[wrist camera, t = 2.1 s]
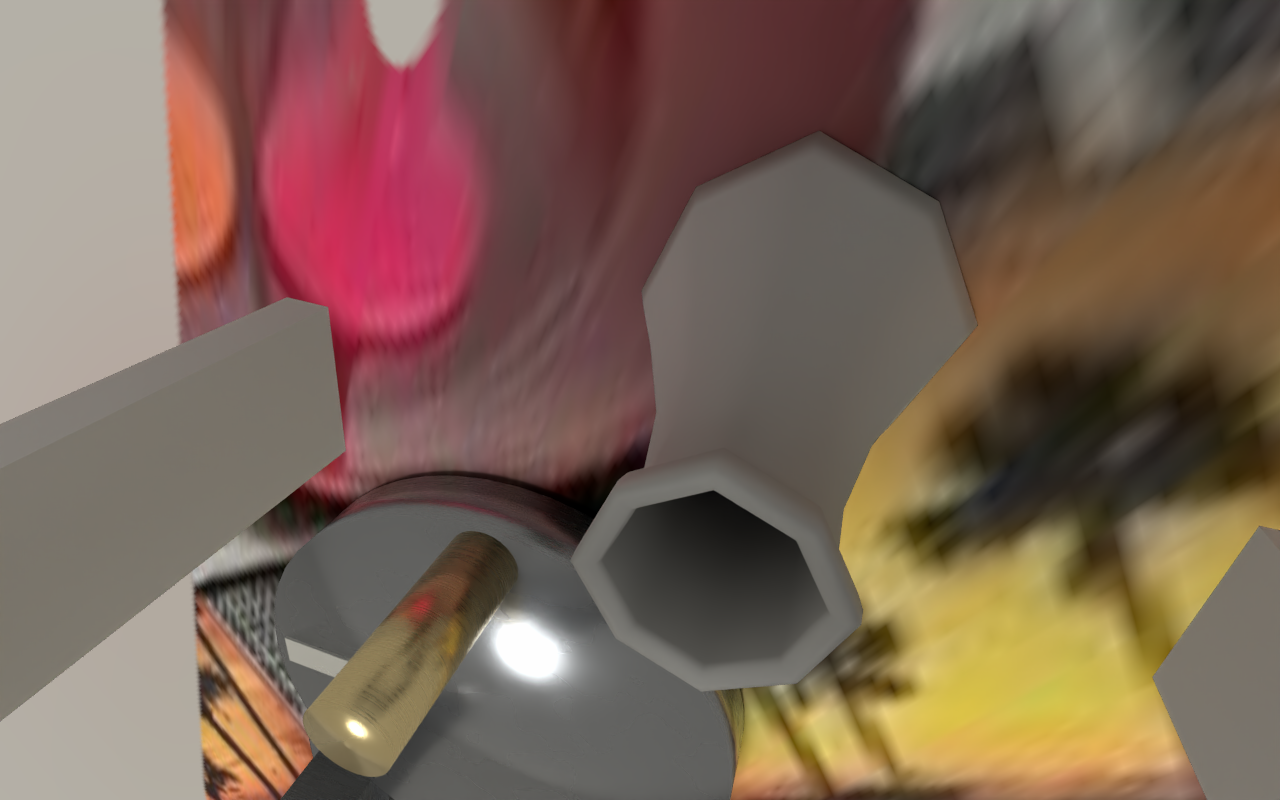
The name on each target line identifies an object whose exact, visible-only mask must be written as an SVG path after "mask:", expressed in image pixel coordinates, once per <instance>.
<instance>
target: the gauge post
mask: <svg viewBox="0 0 1280 800" xmlns="http://www.w3.org/2000/svg"><path fill="white" fill-rule="evenodd" d="M309 741H310V745H311V750H312V754H313V759H312V760H311V762H310V763H309V764H308V765H307V767H306V768H305V769H304V770H303V772H302V773H301V774H300V776H299V777H298V778H297V779H296V781H295V782H294V783H293V784H292V786H291V787H290V788H289V789H288V791H287V792H286V793H285V795H284V796H283V797H282V798H281V800H394V799H393V798H392V797H390V796H389V795H388V794H387V793H385V792H384V791H383V790H382V789H381V788H379V787H378V786H377V785H376V784H374V783H373V782H372V781H371V780H370V779H369V778H368V777H366V776H362V775H359V774H356V773H353V772H350V771H348V770H346V769H344V768H342V767H341V766H339V765H337V764H336V763H334V762H333V761H331V760H330V759H329V758H328V757H326V756H325V755H324V754H323V753H322V752H321V751H320V750H319V749H318V748H317V747H316V746H315V745H314V744H313V742H312V741H311V739H309Z"/></svg>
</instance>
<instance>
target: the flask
mask: <svg viewBox="0 0 1280 800" xmlns="http://www.w3.org/2000/svg"><path fill="white" fill-rule="evenodd" d="M642 299H643V307H644V313H645V318H646V324H647V330H648V335H649V341H650V346H651V357H652V368H653V379H654V391H655V402H656V417H655V421H654V426H653V431H652V435H651V440H650V444H649V449H648V454H647V458H646V463H645V467H644V468H643V469H639V470H635V471H632V472H628V473H627V474H625V475H624V476H623V477H622V478H620V479H619V480H618V481H617V483H616V485H615V486H614V488H613V489H612V491H611V493H610V494H609V496H608V498H607V499H606V501H605V502H604V504H603V506H602V507H601V509H600V510H599V512H598V514H597V515H596V517H595V519H594V520H593V522H592V523H591V525H590V527H589V528H588V530H587V532H586V533H585V535H584V536H583V538H582V540H581V541H580V543H579V545H578V546H577V548H576V550H575V552H574V554H573V556H572V558H571V559H570V561H571V563H572V565H573V566H574V568H575V570H576V571H577V573H578V575H579V577H580V578H581V580H582V582H583V583H584V585H585V587H586V589H587V590H588V592H589V594H590V595H591V597H592V599H593V600H594V602H595V604H596V606H597V607H598V609H599V611H600V612H601V614H602V616H603V618H604V619H605V621H606V623H607V624H608V626H609V628H610V630H611V631H612V633H613V635H614V636H615V638H616V639H617V640H619V641H621V642H622V643H624V644H625V645H627V646H629V647H630V648H632V649H633V650H635V651H637V652H638V653H640V654H641V655H643V656H645V657H646V658H648V659H650V660H651V661H653V662H654V663H656V664H658V665H659V666H661V667H662V668H664V669H666V670H667V671H669V672H670V673H672V674H674V675H675V676H677V677H678V678H680V679H682V680H683V681H685V682H686V683H688V684H690V685H691V686H693V687H694V688H696V689H698V690H699V691H701V692H703V691H715V690H726V689H738V688H750V687H761V686H773V685H785V684H797V683H798V682H799V681H800V680H801V679H802V678H803V677H804V676H805V675H807V674H808V673H809V672H810V671H811V670H812V669H813V668H814V667H815V666H816V665H818V664H819V663H820V662H821V661H822V660H823V659H824V658H825V657H826V656H827V655H828V654H830V653H831V652H832V651H833V650H834V649H835V648H836V647H837V646H838V645H839V644H840V643H842V642H843V641H844V640H845V639H846V638H847V637H848V636H849V635H850V634H851V633H853V632H854V631H855V630H856V629H857V628H858V627H859V626H860V625H861V621H862V614H863V609H862V605H861V602H860V598H859V595H858V592H857V590H856V588H855V585H854V583H853V581H852V578H851V576H850V574H849V571H848V569H847V567H846V564H845V562H844V560H843V557H842V555H841V553H840V551H839V544H840V535H841V527H842V519H843V511H844V507H845V505H846V503H847V501H848V498H849V496H850V494H851V492H852V489H853V487H854V485H855V482H856V480H857V478H858V476H859V473H860V471H861V469H862V467H863V464H864V462H865V460H866V458H867V455H868V453H869V451H870V449H871V446H872V445H873V444H874V442H875V441H876V440H877V439H878V438H879V436H880V435H881V434H882V433H883V432H884V431H885V430H886V429H887V428H888V427H889V426H890V425H891V424H892V423H893V421H894V420H895V419H896V418H897V417H898V416H899V415H900V414H901V412H902V411H903V410H904V409H905V408H906V407H907V406H908V405H909V403H910V402H911V401H912V400H913V399H914V398H915V397H916V395H917V394H918V393H919V392H920V391H921V390H922V389H923V388H924V386H925V385H926V384H927V383H928V382H929V381H930V380H931V378H932V377H933V376H934V375H935V374H936V373H937V372H938V371H939V369H940V368H941V367H942V366H943V365H944V364H945V363H946V361H947V360H948V359H949V358H950V357H951V356H952V355H953V354H954V352H955V351H956V350H957V349H958V348H959V347H960V346H961V344H962V343H963V342H964V341H965V340H966V339H967V338H968V336H969V335H970V334H971V333H972V332H973V330H974V329H975V328H976V327H977V326H978V324H977V321H976V318H975V315H974V311H973V308H972V305H971V302H970V299H969V295H968V292H967V289H966V286H965V283H964V280H963V276H962V273H961V270H960V267H959V264H958V260H957V257H956V254H955V251H954V248H953V245H952V241H951V238H950V235H949V232H948V229H947V225H946V222H945V219H944V216H943V213H942V210H941V206H940V203H939V201H937V200H935V199H934V198H932V197H930V196H928V195H927V194H925V193H923V192H922V191H920V190H918V189H917V188H915V187H913V186H912V185H910V184H908V183H907V182H905V181H903V180H901V179H900V178H898V177H896V176H895V175H893V174H891V173H890V172H888V171H886V170H885V169H883V168H881V167H880V166H878V165H876V164H875V163H873V162H871V161H869V160H868V159H866V158H864V157H863V156H861V155H859V154H858V153H856V152H854V151H853V150H851V149H849V148H848V147H846V146H844V145H843V144H841V143H839V142H837V141H836V140H834V139H832V138H831V137H829V136H827V135H826V134H824V133H822V132H821V131H817V132H815V133H813V134H811V135H808V136H806V137H804V138H802V139H800V140H798V141H795V142H793V143H791V144H789V145H787V146H784V147H782V148H780V149H778V150H776V151H774V152H771V153H769V154H767V155H765V156H763V157H760V158H758V159H756V160H754V161H752V162H749V163H747V164H745V165H743V166H741V167H739V168H736V169H734V170H732V171H730V172H728V173H725V174H723V175H721V176H719V177H717V178H715V179H712V180H710V181H708V182H706V183H704V184H701V185H699V186H697V187H696V188H695V190H694V192H693V193H692V195H691V197H690V199H689V201H688V203H687V205H686V207H685V209H684V211H683V213H682V214H681V216H680V218H679V220H678V222H677V224H676V226H675V228H674V230H673V232H672V233H671V235H670V237H669V239H668V241H667V243H666V245H665V247H664V249H663V251H662V252H661V254H660V256H659V258H658V260H657V262H656V264H655V266H654V268H653V270H652V271H651V273H650V275H649V277H648V279H647V281H646V283H645V285H644V287H643V289H642Z"/></svg>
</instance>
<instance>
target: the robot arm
mask: <svg viewBox="0 0 1280 800" xmlns="http://www.w3.org/2000/svg"><path fill="white" fill-rule="evenodd" d="M345 451H346V449H345V441H344V433H343V425H342V417H341V409H340V401H339V392H338V384H337V376H336V368H335V360H334V352H333V344H332V336H331V328H330V320H329V312H328V307H325V306H321V305H317V304H313V303H308V302H304V301H300V300H296V299H291V298H285V299H282V300H280V301H278V302H276V303H273V304H271V305H269V306H267V307H264V308H262V309H260V310H258V311H255V312H253V313H251V314H249V315H246V316H244V317H242V318H239V319H237V320H235V321H233V322H230V323H228V324H226V325H224V326H221V327H219V328H217V329H215V330H212V331H210V332H208V333H206V334H203V335H201V336H199V337H196V338H194V339H192V340H190V341H187V342H185V343H183V344H181V345H178V346H176V347H174V348H172V349H169V350H167V351H165V352H163V353H160V354H158V355H156V356H154V357H152V358H149V359H147V360H144V361H142V362H140V363H138V364H135V365H133V366H131V367H129V368H126V369H124V370H122V371H120V372H117V373H115V374H113V375H111V376H108V377H106V378H104V379H102V380H99V381H97V382H95V383H92V384H90V385H88V386H86V387H83V388H81V389H79V390H77V391H74V392H72V393H70V394H68V395H65V396H63V397H61V398H58V399H56V400H54V401H52V402H49V403H47V404H45V405H43V406H41V407H38V408H36V409H34V410H31V411H29V412H27V413H25V414H22V415H20V416H18V417H15V418H13V419H11V420H9V421H6V422H4V423H2V424H0V721H1V720H2V719H4V718H5V717H6V716H8V715H9V714H10V713H12V712H13V711H14V710H15V709H17V708H18V707H19V706H20V705H22V704H23V703H24V702H26V701H27V700H28V699H29V698H31V697H32V696H33V695H35V694H36V693H37V692H38V691H39V690H41V689H42V688H43V687H45V686H46V685H47V684H49V683H50V682H51V681H52V680H54V679H55V678H56V677H57V676H59V675H60V674H61V673H63V672H64V671H65V670H66V669H67V668H69V667H70V666H72V665H73V664H74V663H75V662H76V661H78V660H79V659H80V658H82V657H83V656H84V655H85V654H87V653H88V652H89V651H91V650H92V649H93V648H94V647H96V646H97V645H98V644H100V643H101V642H102V641H103V640H105V639H106V638H107V637H109V636H110V635H111V634H112V633H114V632H115V631H116V630H117V629H119V628H120V627H121V626H123V625H124V624H125V623H126V622H128V621H129V620H130V619H131V618H133V617H134V616H135V615H136V614H138V613H139V612H140V611H142V610H143V609H144V608H146V607H147V606H148V605H149V604H150V603H152V602H153V601H154V600H156V599H157V598H158V597H159V596H161V595H162V594H163V593H165V592H166V591H167V590H168V589H170V588H171V587H172V586H174V585H175V584H176V583H177V582H179V581H180V580H181V579H182V578H184V577H185V576H186V575H188V574H189V573H190V572H191V571H193V570H194V569H195V568H197V567H198V566H199V565H200V564H202V563H203V562H204V561H205V560H207V559H208V558H209V557H211V556H212V555H213V554H214V553H216V552H217V551H218V550H219V549H221V548H222V547H223V546H225V545H226V544H227V543H228V542H230V541H231V540H232V539H234V538H235V537H236V536H237V535H239V534H240V533H241V532H242V531H244V530H245V529H246V528H248V527H249V526H250V525H251V524H253V523H254V522H255V521H256V520H258V519H259V518H260V517H262V516H263V515H264V514H265V513H267V512H268V511H269V510H271V509H272V508H273V507H274V506H276V505H277V504H278V503H279V502H281V501H282V500H283V499H285V498H286V497H287V496H288V495H290V494H291V493H292V492H293V491H295V490H296V489H297V488H299V487H300V486H301V485H302V484H304V483H305V482H306V481H308V480H309V479H310V478H311V477H313V476H314V475H315V474H316V473H318V472H319V471H320V470H322V469H323V468H324V467H325V466H327V465H328V464H329V463H330V462H332V461H333V460H334V459H336V458H337V457H338V456H339V455H341V454H342V453H343V452H345ZM1153 680H1154V682H1155V684H1156V686H1157V689H1158V691H1159V693H1160V695H1161V697H1162V700H1163V702H1164V704H1165V706H1166V709H1167V711H1168V713H1169V715H1170V718H1171V720H1172V722H1173V724H1174V727H1175V729H1176V731H1177V733H1178V736H1179V738H1180V740H1181V742H1182V745H1183V747H1184V749H1185V751H1186V754H1187V756H1188V758H1189V760H1190V763H1191V765H1192V767H1193V769H1194V772H1195V774H1196V776H1197V778H1198V781H1199V783H1200V785H1201V787H1202V790H1203V792H1204V794H1205V796H1206V799H1207V800H1280V530H1275V529H1271V528H1267V527H1262V526H1259V527H1258V529H1257V530H1256V531H1255V533H1254V534H1253V536H1252V537H1251V538H1250V540H1249V541H1248V543H1247V544H1246V546H1245V547H1244V548H1243V550H1242V551H1241V553H1240V554H1239V555H1238V557H1237V558H1236V560H1235V561H1234V563H1233V564H1232V565H1231V567H1230V568H1229V570H1228V571H1227V572H1226V574H1225V575H1224V577H1223V578H1222V580H1221V581H1220V582H1219V584H1218V585H1217V587H1216V588H1215V589H1214V591H1213V592H1212V594H1211V595H1210V597H1209V598H1208V599H1207V601H1206V602H1205V604H1204V605H1203V606H1202V608H1201V609H1200V611H1199V612H1198V614H1197V615H1196V616H1195V618H1194V619H1193V621H1192V622H1191V623H1190V625H1189V626H1188V628H1187V629H1186V631H1185V632H1184V633H1183V635H1182V636H1181V638H1180V639H1179V640H1178V642H1177V643H1176V645H1175V646H1174V648H1173V649H1172V650H1171V652H1170V653H1169V655H1168V656H1167V657H1166V659H1165V660H1164V662H1163V663H1162V665H1161V666H1160V667H1159V669H1158V670H1157V672H1156V673H1155V674H1154V676H1153Z"/></svg>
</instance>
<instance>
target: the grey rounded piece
mask: <svg viewBox="0 0 1280 800" xmlns="http://www.w3.org/2000/svg"><path fill="white" fill-rule="evenodd" d="M593 520H594V519H593V518H591V517H590V516H588V515H586V514H584V513H582V512H580V511H578V510H576V509H574V508H572V507H569V506H567V505H565V504H563V503H561V502H559V501H557V500H554V499H552V498H550V497H547V496H544V495H541V494H538V493H535V492H532V491H530V490H527V489H524V488H521V487H518V486H514V485H509V484H505V483H501V482H496V481H492V480H488V479H481V478H472V477H463V476H423V477H417V478H410V479H404V480H399V481H396V482H393V483H390V484H387V485H384V486H381V487H378V488H376V489H374V490H372V491H371V492H369V493H367V494H365V495H363V496H361V497H360V498H358V499H357V500H356V501H354V502H353V503H352V504H351V505H350V506H349V507H347V508H346V509H345V510H344V511H343V512H342V513H340V514H339V515H338V516H337V517H336V518H335V519H334V520H332V521H331V522H330V523H329V524H328V525H327V526H326V527H324V528H323V529H322V530H321V531H320V532H319V533H318V534H317V535H315V536H314V537H313V538H312V539H311V540H310V541H309V542H307V543H306V544H305V545H304V546H303V547H302V548H301V549H300V550H298V551H297V553H296V554H295V555H294V557H293V558H292V559H291V561H290V562H289V564H288V565H287V566H286V568H285V571H284V573H283V575H282V577H281V580H280V582H279V585H278V590H277V595H276V600H275V628H276V634H277V640H278V645H279V648H280V652H281V655H282V658H283V661H284V664H285V667H286V669H287V671H288V674H289V676H290V678H291V681H292V683H293V685H294V687H295V689H296V690H297V692H298V694H299V696H300V697H301V699H302V701H303V703H304V704H305V706H306V707H307V710H306V712H305V713H304V716H303V724H304V728H305V730H306V733H307V735H308V736H309V738H310V739H311V741H312V742H313V744H314V745H315V746H316V747H317V748H318V749H319V750H320V751H321V752H322V753H323V754H324V755H325V756H326V757H328V758H329V759H330V760H331V761H333V762H334V763H336V764H337V765H339V766H341V767H342V768H344V769H346V770H348V771H350V772H353V773H356V774H359V775H362V776H366V777H368V778H369V779H370V780H371V781H372V782H373V783H374V784H376V785H377V786H378V787H379V788H381V789H382V790H383V791H384V792H385V793H387V794H388V795H389V796H390V797H392V798H393V799H394V800H730V797H731V792H732V787H733V782H734V777H735V773H736V768H737V763H738V758H739V753H740V748H741V742H742V736H743V731H744V716H743V702H742V697H741V693H740V688H738V689H726V690H715V691H703V692H701V691H699V690H698V689H696V688H694V687H693V686H691V685H690V684H688V683H686V682H685V681H683V680H682V679H680V678H678V677H677V676H675V675H674V674H672V673H670V672H669V671H667V670H666V669H664V668H662V667H661V666H659V665H658V664H656V663H654V662H653V661H651V660H650V659H648V658H646V657H645V656H643V655H641V654H640V653H638V652H637V651H635V650H633V649H632V648H630V647H629V646H627V645H625V644H624V643H622V642H621V641H619V640H617V639H616V638H615V636H614V635H613V633H612V631H611V630H610V628H609V626H608V624H607V623H606V621H605V619H604V618H603V616H602V614H601V612H600V611H599V609H598V607H597V606H596V604H595V602H594V600H593V599H592V597H591V595H590V594H589V592H588V590H587V589H586V587H585V585H584V583H583V582H582V580H581V578H580V577H579V575H578V573H577V571H576V570H575V568H574V566H573V565H572V563H571V561H570V559H571V558H572V556H573V554H574V552H575V550H576V548H577V546H578V545H579V543H580V541H581V540H582V538H583V536H584V535H585V533H586V532H587V530H588V528H589V527H590V525H591V523H592V522H593Z"/></svg>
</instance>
